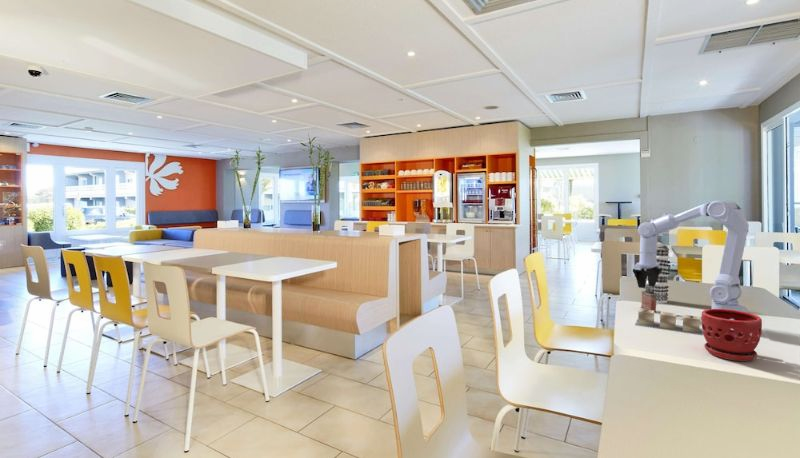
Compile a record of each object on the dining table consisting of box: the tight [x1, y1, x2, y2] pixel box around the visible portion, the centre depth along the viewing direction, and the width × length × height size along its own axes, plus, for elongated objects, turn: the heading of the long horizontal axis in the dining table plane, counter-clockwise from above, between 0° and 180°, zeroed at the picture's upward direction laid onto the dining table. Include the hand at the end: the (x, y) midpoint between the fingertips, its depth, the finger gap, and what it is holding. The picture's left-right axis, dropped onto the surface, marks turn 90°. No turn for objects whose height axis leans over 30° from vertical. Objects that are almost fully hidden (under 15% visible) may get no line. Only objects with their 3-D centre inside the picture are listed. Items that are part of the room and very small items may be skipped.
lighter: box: [640, 285, 657, 314], centre depth 164 cm, size 8×3×10 cm, turn 178°
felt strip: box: [634, 318, 703, 336], centre depth 142 cm, size 19×9×1 cm, turn 56°
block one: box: [682, 314, 701, 333], centre depth 138 cm, size 4×4×5 cm
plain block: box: [659, 311, 677, 330], centre depth 141 cm, size 4×4×4 cm
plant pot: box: [701, 308, 763, 362], centre depth 115 cm, size 13×13×12 cm
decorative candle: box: [646, 244, 671, 304], centre depth 183 cm, size 9×9×25 cm
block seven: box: [637, 308, 655, 326], centre depth 145 cm, size 4×4×5 cm
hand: (646, 286), depth 163 cm, fingers open, 7 cm apart
